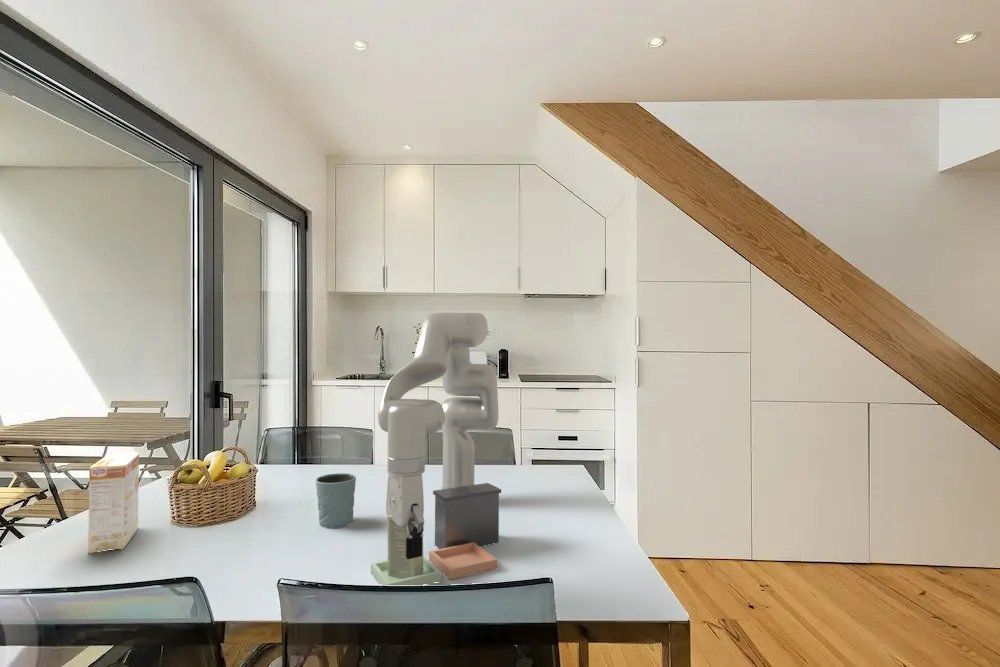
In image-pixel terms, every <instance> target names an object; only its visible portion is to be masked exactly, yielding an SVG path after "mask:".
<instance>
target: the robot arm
mask: <svg viewBox="0 0 1000 667" xmlns="http://www.w3.org/2000/svg"><path fill="white" fill-rule="evenodd" d="M488 328H489V326H488V321H487V318H486V317H485V315H484V314H483V313H482V312H434V313H430V314H428V315H427V316H425V318H424V320H423V323H422V325H421V330H420V333H419V336H418V339H417V344H416V348H415V351H414V355H413V359H412V360H411V361H410V362H408V363H407V364H406V365H404V366H403V367H401V368H400V369H399V370H398V371H397V372H396V373H395V374H394V375H393V376H391V378H390V379H389V381H388V382H387V384H386V385H385V388H384V389H383V390H384V391H383V394H382V396H381V400H380V404H379V407H378V413H377V421H378V425H379V427H380V428H381V430H382V431H384V432H386V433H387V474H388V476H387V484H386V485H387V489H386V501H385V502H386V504H385V505H386V506H385V513H386V515H387V516H389V515H390V516H391V517H392V520H393V521H394V522H395V523H396V524H397V525H398V526H400V527H403V526H404V525H405V526H406V531H407V535H408V538H406V558H407V559H412V558H416V557H421V556H422V537H423V538H424V529H425V528H424V525H425V518H424V511H425V510H424V509H425V506H424V505H425V504H424V502H425V501H424V484H423V474H424V473H425V472H426V471H425V470H426V468H425V467H426V465H425V464H426V461H425V460H426V458H425V457H426V435H434V434H436V433H437V432H439V431H440V430H441V429H442V430H441V431H442V486H441V490H442V489H449V488H456V487H462V486H469V485H475V457H476V456H475V452H476V451H475V445H476V444H475V441H474V440H473V438H472V436H471V435H470V433H469V432H468V430H469V431H470V430H474V431H477V430H478V431H491V430H493V429H495V428H496V427H497V425H498V423H499V417H500V416H499V398H498V396H499V394H498V380H497V373H496V371H495V369H494V367H493V366H492V365H490V364H486V363H472V361H471V356H470V353H471V352H470V348H476V347H478V346H479V345H481V344H483V343H484V342H485V340H486V339H487V335H488ZM440 378H441V379H442V380H441V381H442V387H443V390H444V391H445V393H446V394H447V395H449V396H453V397H449V398H448V397H447V399H445V400H443V401H442V403H440V402H438V401H437V400H433V399H422V398H421V399H418V398H417V399H416V398H414V399H413V398H403V396H404V395H405V394H406V393H408V392H410V390H413V389H415V388H417V387H419V386H422V385H425V384H428V383H430V382H433V381H435V380H437V379H440ZM454 396H455V397H454ZM412 519H415V521H410V520H412ZM408 521H410V522H408ZM410 526H415V527H414V528H413V529H412V531H411V527H410Z"/></svg>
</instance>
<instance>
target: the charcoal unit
mask: <svg viewBox="0 0 1000 667" xmlns="http://www.w3.org/2000/svg"><path fill="white" fill-rule="evenodd" d="M500 494H502V489H501V488H499V487H497V486H495V485H493V484H490V483H489V482H484V483H477V484H474V485H469V486H462V487H456V488H449V489H442V488H441V489H436V490H433V491H432V495H433V496H434V546H435V547H436V546H437V547H438V549H443V548H448V547H453V546H458V545H463V544H467V543H472V542H474V543H476V544H477V545H478V546H481V547H485V546H484V545H486V546H489V545H488V544H491V545H494V544H493V543H495V544H499V543H498V542H500V541H499V539H500V538H499V537H500V536H499V535H500V533H499V532H500V531H499V529H500V528H499V527H500V522H499V521H500V520H499V519H500V515H499V512H500ZM437 547H436V548H437Z"/></svg>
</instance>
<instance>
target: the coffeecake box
mask: <svg viewBox="0 0 1000 667" xmlns="http://www.w3.org/2000/svg"><path fill="white" fill-rule="evenodd" d="M88 473H89V479H88V481H89V483H88V484H89V486H88V489H89V490H88V535H87V536H88V541H87V542H88V543H87V554H88V553H89V554H94V553H93V552H98V551H103V550H108V549H120V548H124V549H125V547H126V546H127V545H128V543H129V542H130V540H132V538H133V536H134V535H135V534H136V533H137V531H138V530H139V493H140V492H139V488H140V486H139V479H140V477H139V476H140V452H131V453H130V452H129V453H111V454H107V455H105V456H104V457H103V458H101V459H100V460H98V461H97V462H96V463H94V464H93V465H92V466H90V467H89V472H88ZM98 553H99V552H98Z"/></svg>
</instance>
